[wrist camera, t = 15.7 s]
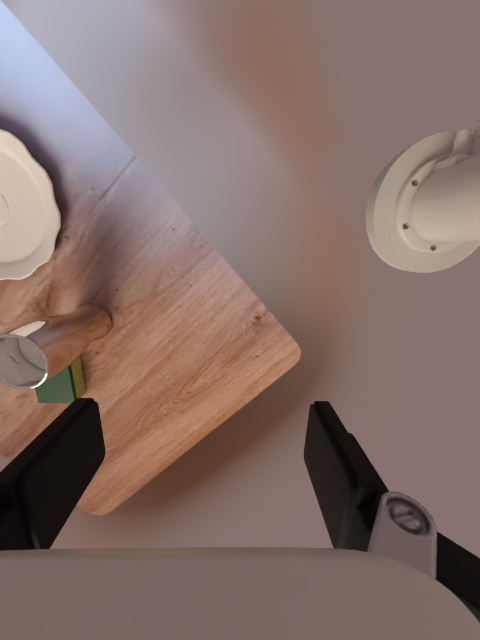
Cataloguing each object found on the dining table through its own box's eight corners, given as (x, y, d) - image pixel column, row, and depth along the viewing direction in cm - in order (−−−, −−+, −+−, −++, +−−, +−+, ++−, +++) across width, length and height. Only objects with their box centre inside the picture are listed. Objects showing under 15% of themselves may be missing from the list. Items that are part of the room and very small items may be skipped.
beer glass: (97, 348, 42) (27, 402, 27) (63, 321, 40) (-32, 362, 26) (123, 321, 41) (63, 363, 26) (88, 292, 39) (4, 318, 25)
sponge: (42, 345, 41) (26, 353, 38) (78, 346, 42) (65, 354, 38) (52, 391, 44) (38, 402, 41) (86, 392, 44) (74, 403, 41)
